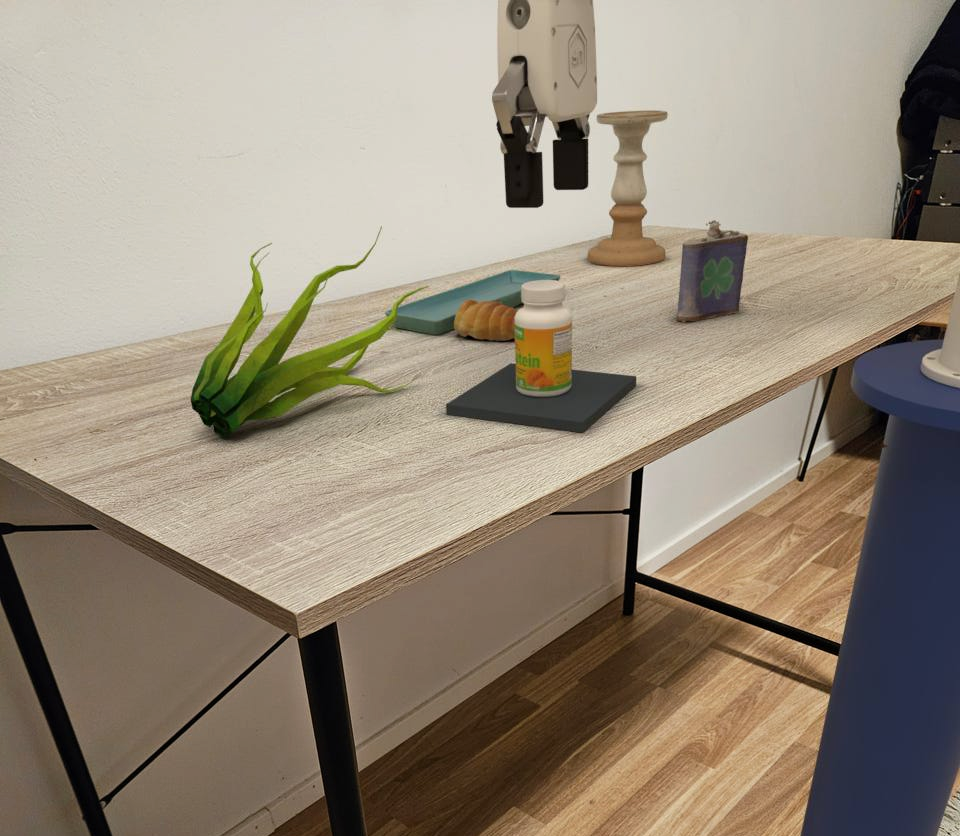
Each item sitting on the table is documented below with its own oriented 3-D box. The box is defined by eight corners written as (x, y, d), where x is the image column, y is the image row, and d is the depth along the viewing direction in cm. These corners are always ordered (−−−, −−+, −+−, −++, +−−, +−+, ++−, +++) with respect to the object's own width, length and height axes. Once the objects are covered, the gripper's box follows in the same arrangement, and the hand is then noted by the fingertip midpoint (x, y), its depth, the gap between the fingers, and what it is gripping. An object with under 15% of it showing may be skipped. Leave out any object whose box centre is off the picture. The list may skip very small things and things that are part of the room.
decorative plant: (489, 382, 93) (483, 229, 84) (216, 452, 79) (178, 277, 71) (402, 347, 105) (390, 211, 97) (154, 403, 92) (116, 249, 84)
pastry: (543, 331, 108) (542, 298, 106) (517, 346, 103) (516, 312, 101) (476, 325, 112) (474, 293, 110) (448, 339, 107) (446, 306, 105)
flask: (684, 323, 108) (692, 227, 102) (669, 318, 110) (676, 224, 104) (744, 312, 111) (754, 218, 105) (728, 307, 113) (738, 215, 108)
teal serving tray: (437, 338, 108) (436, 317, 106) (384, 328, 113) (382, 308, 111) (562, 293, 124) (562, 275, 123) (511, 287, 129) (510, 269, 128)
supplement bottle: (504, 391, 87) (501, 286, 81) (542, 377, 90) (541, 275, 84) (544, 402, 83) (543, 293, 78) (583, 388, 86) (584, 282, 81)
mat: (636, 385, 89) (636, 376, 89) (582, 433, 79) (583, 422, 78) (511, 372, 95) (510, 362, 94) (446, 414, 85) (445, 404, 84)
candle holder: (638, 248, 149) (644, 108, 138) (680, 260, 139) (691, 110, 128) (573, 257, 145) (574, 114, 134) (612, 270, 135) (617, 117, 124)
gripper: (540, -62, 60) (547, 215, 69) (628, -51, 72) (624, 183, 82) (444, -49, 63) (463, 214, 73) (544, -40, 76) (549, 184, 85)
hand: (548, 197), depth 77 cm, fingers open, 9 cm apart
